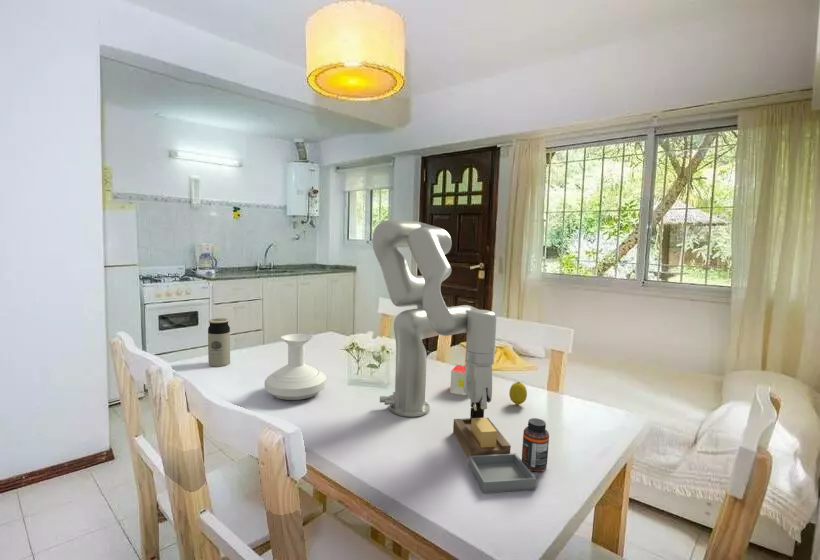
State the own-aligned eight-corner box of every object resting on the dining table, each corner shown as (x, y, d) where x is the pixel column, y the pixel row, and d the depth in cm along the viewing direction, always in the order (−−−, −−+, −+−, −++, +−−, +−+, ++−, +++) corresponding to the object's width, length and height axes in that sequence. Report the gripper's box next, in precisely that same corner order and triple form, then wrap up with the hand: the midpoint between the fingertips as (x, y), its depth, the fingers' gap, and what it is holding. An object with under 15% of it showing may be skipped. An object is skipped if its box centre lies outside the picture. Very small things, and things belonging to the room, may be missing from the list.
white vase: (323, 381, 156) (323, 329, 154) (329, 402, 137) (330, 343, 135) (265, 385, 150) (265, 331, 148) (264, 407, 131) (264, 346, 129)
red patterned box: (450, 392, 149) (451, 371, 148) (455, 385, 157) (456, 364, 156) (472, 396, 147) (473, 374, 146) (477, 389, 154) (478, 367, 153)
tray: (483, 493, 92) (483, 482, 91) (467, 465, 102) (468, 455, 102) (535, 489, 94) (536, 478, 93) (515, 462, 104) (515, 453, 104)
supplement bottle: (517, 459, 106) (520, 415, 105) (541, 459, 106) (544, 415, 105) (526, 473, 100) (529, 426, 99) (550, 472, 101) (554, 426, 99)
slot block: (470, 463, 103) (471, 447, 103) (453, 432, 119) (453, 418, 119) (509, 461, 105) (510, 445, 105) (487, 431, 121) (488, 417, 120)
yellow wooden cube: (480, 447, 105) (481, 432, 105) (475, 439, 109) (476, 424, 109) (496, 446, 106) (496, 431, 105) (490, 439, 110) (491, 424, 109)
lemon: (526, 409, 137) (528, 385, 136) (508, 407, 138) (510, 383, 137) (525, 403, 142) (527, 379, 142) (508, 401, 144) (509, 378, 143)
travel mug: (216, 360, 176) (215, 317, 174) (234, 361, 175) (233, 318, 173) (204, 366, 168) (203, 321, 166) (223, 367, 167) (222, 322, 165)
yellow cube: (475, 439, 109) (476, 424, 109) (470, 432, 113) (471, 418, 113) (490, 438, 110) (491, 424, 109) (485, 431, 114) (486, 417, 113)
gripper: (458, 349, 120) (455, 412, 122) (475, 365, 105) (472, 436, 107) (483, 349, 121) (480, 411, 123) (504, 364, 107) (500, 435, 109)
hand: (476, 422), depth 115 cm, fingers closed
